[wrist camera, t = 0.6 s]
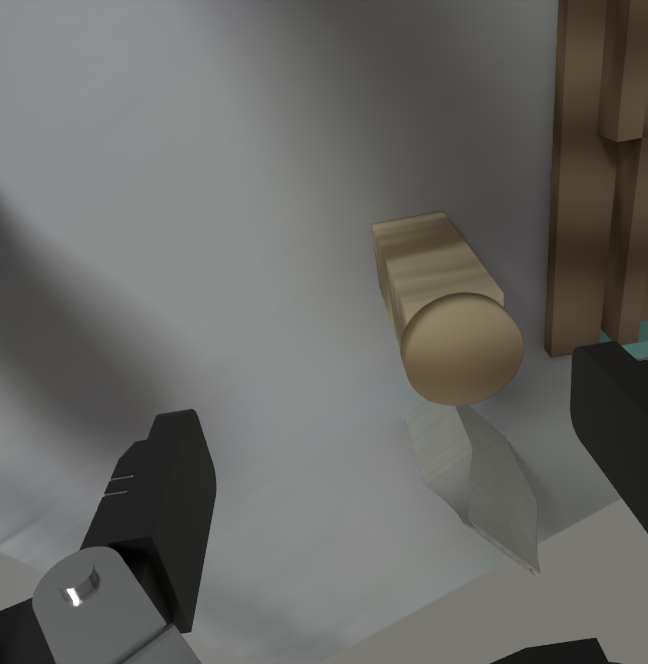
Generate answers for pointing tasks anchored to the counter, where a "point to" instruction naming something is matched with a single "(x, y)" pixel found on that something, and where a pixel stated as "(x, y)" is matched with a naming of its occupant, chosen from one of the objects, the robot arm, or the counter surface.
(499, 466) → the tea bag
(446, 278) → the maple peg
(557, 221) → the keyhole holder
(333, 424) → the counter surface
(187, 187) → the counter surface
